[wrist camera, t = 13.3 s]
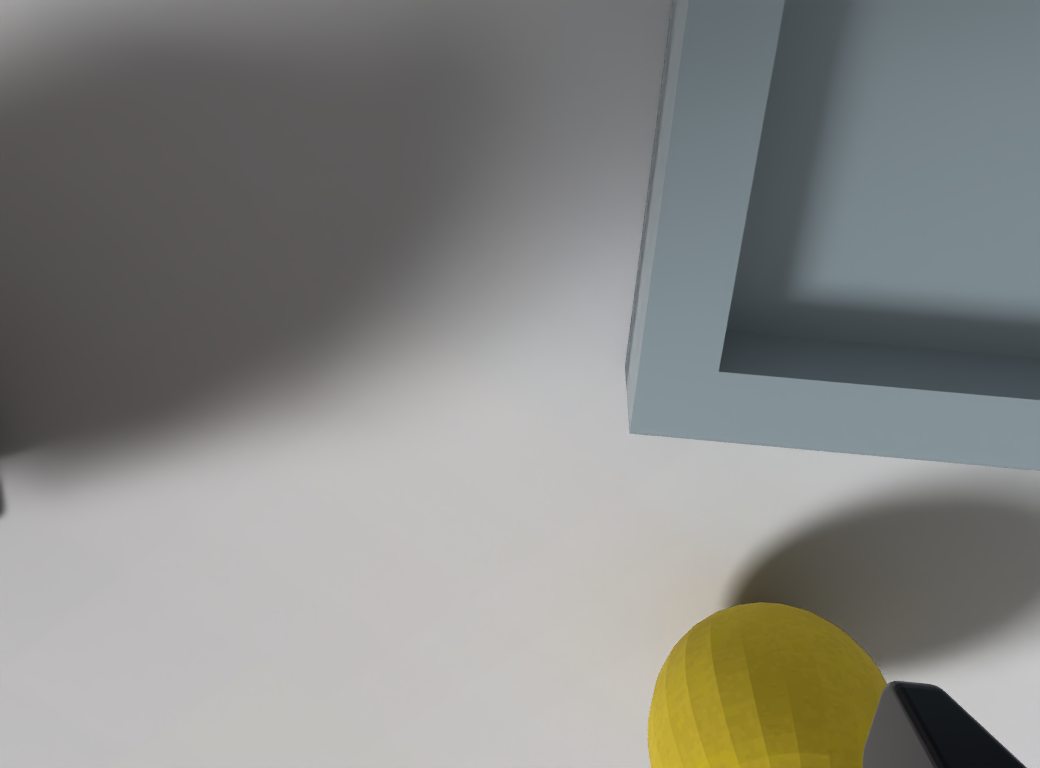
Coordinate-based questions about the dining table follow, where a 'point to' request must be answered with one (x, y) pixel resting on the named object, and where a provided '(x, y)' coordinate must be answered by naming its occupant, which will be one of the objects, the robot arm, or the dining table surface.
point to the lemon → (763, 693)
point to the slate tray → (845, 230)
